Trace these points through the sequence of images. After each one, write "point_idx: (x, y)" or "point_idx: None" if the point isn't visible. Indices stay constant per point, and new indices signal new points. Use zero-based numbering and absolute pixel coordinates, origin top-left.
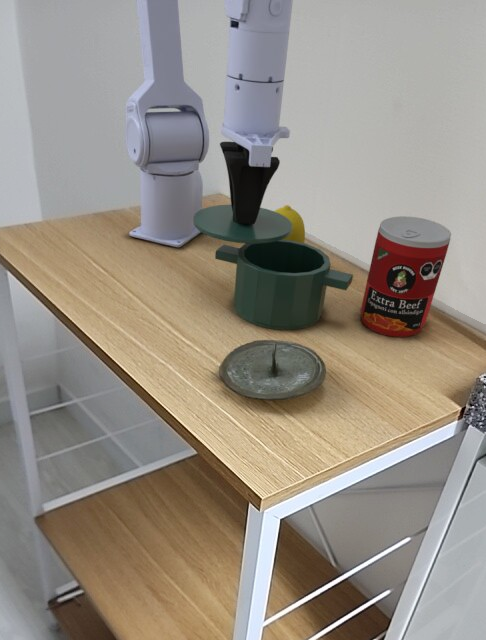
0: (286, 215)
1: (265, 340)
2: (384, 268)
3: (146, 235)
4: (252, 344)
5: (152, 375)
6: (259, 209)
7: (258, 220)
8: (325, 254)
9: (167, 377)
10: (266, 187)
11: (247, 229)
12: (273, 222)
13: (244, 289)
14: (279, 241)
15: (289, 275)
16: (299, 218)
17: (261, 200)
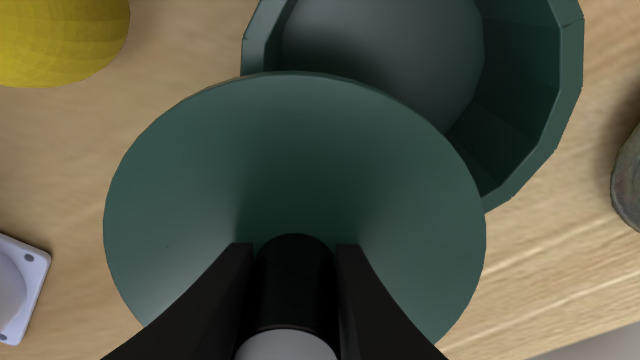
0: (4, 15)
1: (628, 153)
2: None
3: (16, 317)
4: (629, 181)
5: (596, 316)
6: (372, 270)
7: (283, 212)
8: None
9: (610, 298)
10: (431, 344)
11: (387, 263)
12: (299, 157)
13: None
14: None
15: (571, 111)
16: None
17: (393, 299)
